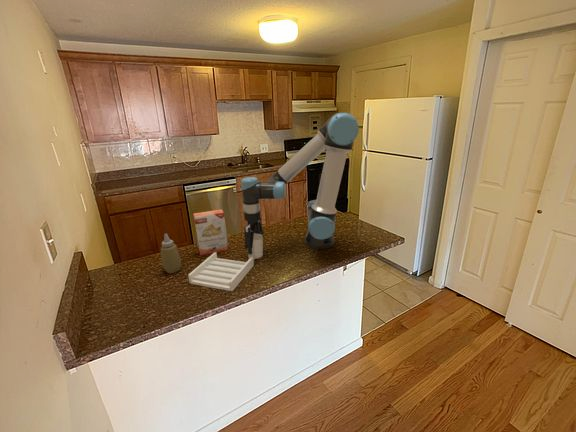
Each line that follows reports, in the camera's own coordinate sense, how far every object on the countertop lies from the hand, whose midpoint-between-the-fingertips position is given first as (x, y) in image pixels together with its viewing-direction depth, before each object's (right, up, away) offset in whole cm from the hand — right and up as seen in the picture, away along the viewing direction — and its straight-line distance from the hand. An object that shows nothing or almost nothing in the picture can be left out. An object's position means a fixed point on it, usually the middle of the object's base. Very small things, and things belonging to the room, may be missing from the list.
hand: (255, 254), depth 136 cm
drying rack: (-13, -7, -14) cm, 20 cm away
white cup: (0, -1, 0) cm, 1 cm away
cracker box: (-22, +1, +6) cm, 23 cm away
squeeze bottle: (-36, -6, -10) cm, 38 cm away
